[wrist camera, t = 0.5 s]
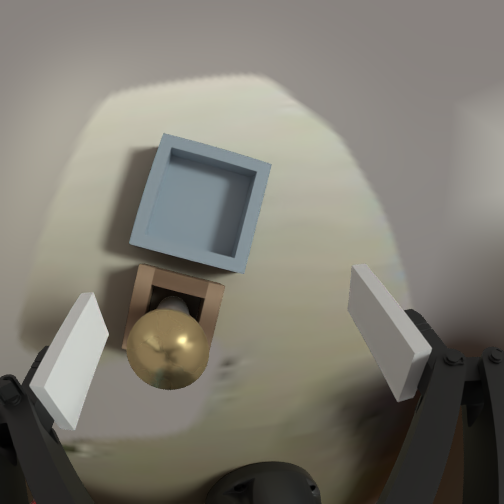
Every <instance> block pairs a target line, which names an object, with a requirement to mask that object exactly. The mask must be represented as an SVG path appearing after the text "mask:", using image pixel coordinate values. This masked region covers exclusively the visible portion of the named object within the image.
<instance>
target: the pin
mask: <svg viewBox="0 0 504 504" xmlns="http://www.w3.org/2000/svg"><path fill="white" fill-rule="evenodd" d="M126 350H127V357H128V361H129V363H130V365H131V367H132V369H133V370H134V372H135V373H136V374H137V376H138V377H139V378H141V379H142V380H143V381H144V382H146V383H147V384H149V385H151V386H153V387H156V388H160V389H165V390H173V389H174V390H175V389H180V388H183V387H186V386H188V385H190V384H192V383H193V382H195V381H196V380H197V379H198V378H199V377H200V376H201V375H202V373H203V372H204V370H205V367H206V366H207V362H208V358H209V346H208V342H207V338H206V336H205V333H204V331H203V329H202V327H201V326H200V325H199V323H198V322H197V321H196V320H195V319H194V318H193V317H191V316H190V315H189V310H188V306H187V304H186V303H185V301H184V300H182V299H181V298H179V297H177V296H169V297H166V298H164V299H163V300H162V301H161V302H160V304H159V306H158V308H157V309H156V310H153V311H150V312H148V313H146V314H145V315H144V316H142V317H141V318H140V319H139V320H138V321H137V322H136V324H135V325H134V326H133V328H132V330H131V331H130V334H129V336H128V339H127V346H126Z"/></svg>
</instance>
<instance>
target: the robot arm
mask: <svg viewBox="0 0 504 504" xmlns="http://www.w3.org/2000/svg"><path fill="white" fill-rule="evenodd" d="M348 311H349V313H350V315H351V317H352V318H353V320H354V322H355V324H356V326H357V327H358V329H359V331H360V333H361V335H362V336H363V338H364V340H365V342H366V344H367V345H368V347H369V349H370V351H371V353H372V355H373V356H374V358H375V360H376V362H377V364H378V366H379V368H380V369H381V371H382V373H383V375H384V377H385V379H386V381H387V383H388V385H389V386H390V388H391V390H392V392H393V394H394V396H395V398H396V400H397V402H399V401H403V400H406V399H409V398H412V397H414V395H415V392H416V390H417V388H418V389H419V391H420V393H421V394H422V395H421V397H420V399H419V401H418V403H417V406H416V408H415V410H416V411H415V414H414V417H413V420H412V423H411V425H410V428H409V431H408V433H407V436H406V439H405V441H404V444H403V446H402V449H401V451H400V454H399V456H398V458H397V461H396V463H395V465H394V468H393V470H392V472H391V474H390V476H389V479H388V481H387V483H386V485H385V487H384V489H383V491H382V493H381V495H380V497H379V499H378V501H377V503H376V504H432V503H433V500H434V498H435V495H436V492H437V489H438V486H439V484H440V481H441V478H442V475H443V472H444V468H445V465H446V462H447V458H448V454H449V451H450V447H451V444H452V440H453V436H454V431H455V427H456V423H457V418H458V414H459V409H460V405H461V406H462V420H463V437H464V438H463V440H464V484H463V503H462V504H504V351H503V350H501V349H499V348H496V347H488V348H486V349H484V351H483V353H482V355H481V357H469V358H468V357H465V356H464V354H462V353H461V352H460V351H458V350H455V349H449V348H447V347H446V346H445V344H444V343H443V342H442V340H441V339H440V338H439V337H438V335H437V334H436V333H435V332H434V330H433V329H431V327H430V325H429V324H428V323H427V322H426V320H425V319H424V318H423V317H422V315H421V314H419V313H418V312H416V311H414V310H413V309H409V310H403V309H402V308H401V307H400V305H399V304H398V303H397V301H396V300H395V299H394V298H393V296H392V295H391V294H390V293H389V291H388V290H387V289H386V288H385V286H384V285H383V284H382V283H381V282H380V280H379V279H378V278H377V277H376V275H375V274H374V273H373V272H372V271H371V269H370V268H369V267H368V266H367V265H366V263H365V264H357V265H352V269H351V281H350V292H349V303H348ZM108 336H109V333H108V330H107V328H106V325H105V323H104V320H103V317H102V315H101V312H100V309H99V307H98V304H97V301H96V298H95V295H94V292H89V293H81V294H80V296H79V297H78V299H77V300H76V302H75V304H74V305H73V307H72V309H71V310H70V312H69V314H68V315H67V317H66V319H65V320H64V322H63V324H62V325H61V327H60V329H59V331H58V332H57V334H56V336H55V338H54V339H53V341H52V343H51V345H50V346H45V347H44V348H43V349H42V350H41V351H40V352H39V353H38V355H37V357H36V359H35V362H34V363H33V364H32V366H31V369H30V370H29V372H28V374H27V376H26V377H25V379H24V381H23V383H22V385H20V383H19V382H18V380H17V379H16V377H15V376H14V375H4V376H2V377H1V378H0V504H29V501H28V496H27V490H26V483H25V478H26V481H27V484H28V486H29V488H30V491H31V493H32V496H33V498H34V500H35V502H36V504H95V503H94V502H93V500H92V498H91V497H90V495H89V494H88V492H87V490H86V489H85V487H84V485H83V484H82V482H81V480H80V478H79V477H78V475H77V473H76V471H75V470H74V468H73V466H72V464H71V462H70V460H69V458H68V457H67V455H66V453H65V451H64V449H63V447H62V445H61V443H60V441H59V438H58V436H57V434H56V432H55V431H54V429H53V428H52V425H53V423H54V421H55V422H56V424H57V425H58V426H59V428H60V429H66V430H73V431H75V429H76V426H77V422H78V419H79V416H80V413H81V410H82V407H83V404H84V401H85V398H86V395H87V392H88V389H89V386H90V383H91V381H92V378H93V375H94V372H95V370H96V367H97V364H98V361H99V359H100V356H101V353H102V351H103V348H104V346H105V343H106V341H107V338H108ZM205 504H321V497H320V491H319V488H318V486H317V484H316V483H315V481H314V480H313V478H312V477H311V476H310V474H309V473H308V472H307V471H305V470H304V469H303V468H301V467H299V466H296V465H293V464H290V463H284V462H264V463H257V464H253V465H249V466H246V467H243V468H240V469H238V470H236V471H233V472H231V473H230V474H228V475H226V476H225V477H223V478H222V479H221V480H219V481H218V482H217V483H216V484H215V485H214V486H213V487H212V489H211V490H210V492H209V493H208V496H207V498H206V503H205Z"/></svg>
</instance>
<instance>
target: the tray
mask: <svg viewBox="0 0 504 504" xmlns="http://www.w3.org/2000/svg"><path fill="white" fill-rule="evenodd" d="M271 165H272V164H269V163H266V162H263V161H260V160H257V159H254V158H250V157H247V156H244V155H241V154H237V153H234V152H231V151H227V150H224V149H220V148H217V147H213V146H210V145H206V144H203V143H199V142H195V141H192V140H188V139H184V138H180V137H176V136H173V135H169V134H165V133H163V136H162V139H161V142H160V144H159V147H158V150H157V153H156V156H155V159H154V162H153V165H152V167H151V171H150V174H149V177H148V180H147V183H146V186H145V189H144V192H143V196H142V199H141V202H140V206H139V209H138V212H137V216H136V219H135V223H134V226H133V230H132V234H131V238H130V241H129V244H131V245H134V246H138V247H142V248H145V249H149V250H153V251H156V252H160V253H164V254H168V255H171V256H175V257H179V258H183V259H186V260H190V261H194V262H198V263H202V264H206V265H209V266H213V267H217V268H221V269H225V270H229V271H233V272H237V273H241V274H244V272H245V268H246V264H247V260H248V256H249V252H250V248H251V244H252V240H253V236H254V232H255V228H256V224H257V220H258V216H259V212H260V208H261V204H262V200H263V196H264V193H265V189H266V185H267V181H268V177H269V173H270V169H271Z"/></svg>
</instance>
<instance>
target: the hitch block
mask: <svg viewBox="0 0 504 504" xmlns="http://www.w3.org/2000/svg"><path fill="white" fill-rule="evenodd" d="M154 286H158V287H162V288H166V289H170V290H174V291H177V292H181V293H185V294H189V295H193V296H197V297H201V301H200V305H199V310H198V314H197V318H196V321H197V322H198V323H199V325H200V326H201V327H202V329H203V331H204V333H205V336H206V338H207V342H208V346H209V350H210V346H211V342H212V338H213V334H214V330H215V326H216V322H217V317H218V313H219V309H220V305H221V301H222V297H223V293H224V289H225V286H224V285H222V284H220V283H217V282H213V281H209V280H205V279H201V278H197V277H193V276H189V275H185V274H181V273H178V272H174V271H170V270H166V269H163V268H159V267H155V266H151V265H148V264H139V268H138V272H137V276H136V281H135V285H134V289H133V294H132V298H131V303H130V308H129V312H128V317H127V322H126V327H125V332H124V338H123V343H122V349H126V346H127V339H128V336H129V334H130V331H131V330H132V328H133V326H134V325H135V324H136V322H137V321H138V320H139V319H140V318H141V317H142V316H144V315H145V314H146V313H148V310H149V305H150V301H151V297H152V292H153V288H154Z"/></svg>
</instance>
